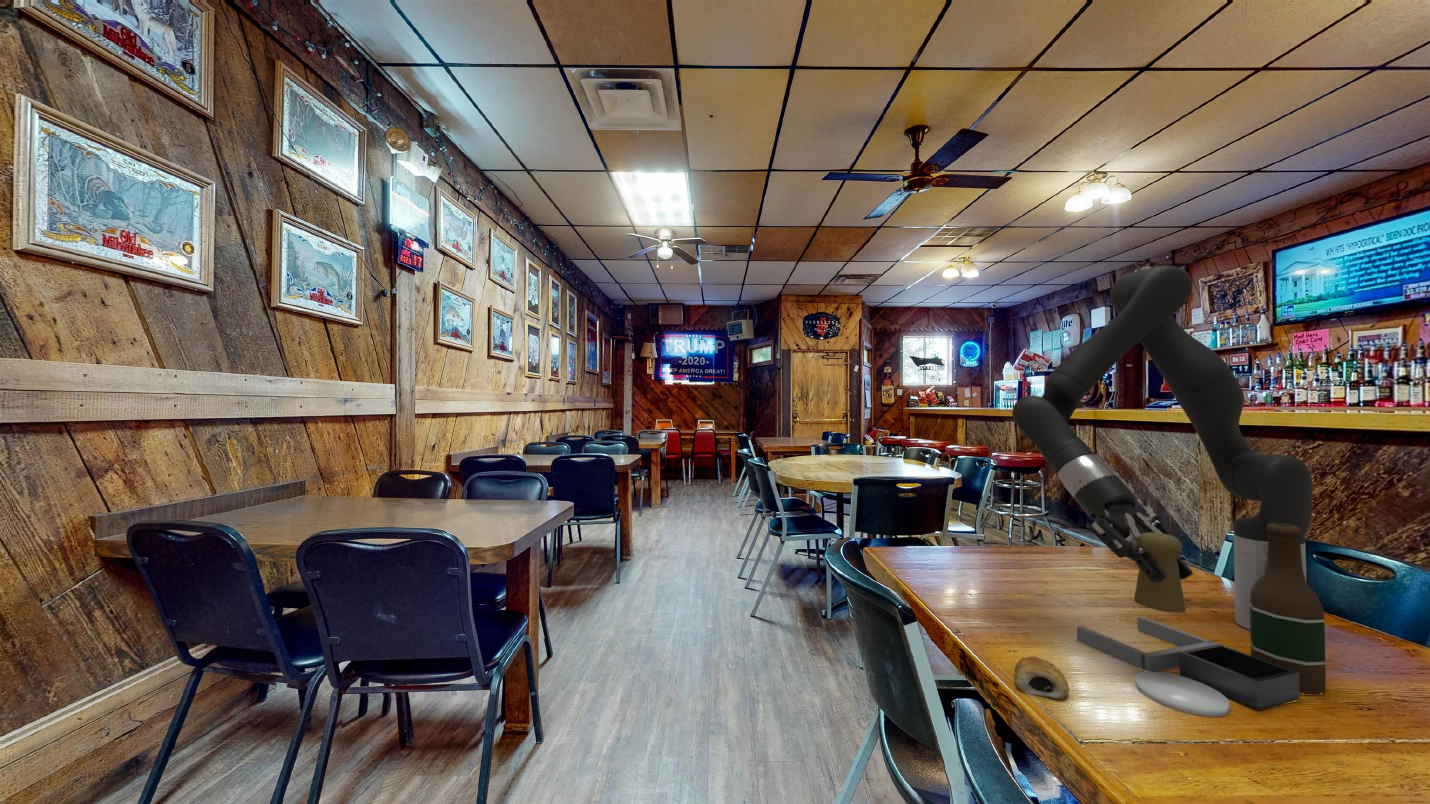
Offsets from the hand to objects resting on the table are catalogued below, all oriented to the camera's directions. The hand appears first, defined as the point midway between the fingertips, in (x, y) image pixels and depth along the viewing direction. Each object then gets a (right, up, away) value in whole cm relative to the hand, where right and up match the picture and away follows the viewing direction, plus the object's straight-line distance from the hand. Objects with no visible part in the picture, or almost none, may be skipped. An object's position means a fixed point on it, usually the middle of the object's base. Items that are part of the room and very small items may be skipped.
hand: (1173, 578), depth 76 cm
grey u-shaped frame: (+5, -16, +12) cm, 21 cm away
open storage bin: (+9, -16, -1) cm, 18 cm away
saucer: (-2, -16, -3) cm, 16 cm away
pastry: (-20, -17, 0) cm, 26 cm away
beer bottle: (+18, -16, +1) cm, 24 cm away
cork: (-1, -5, +2) cm, 5 cm away
